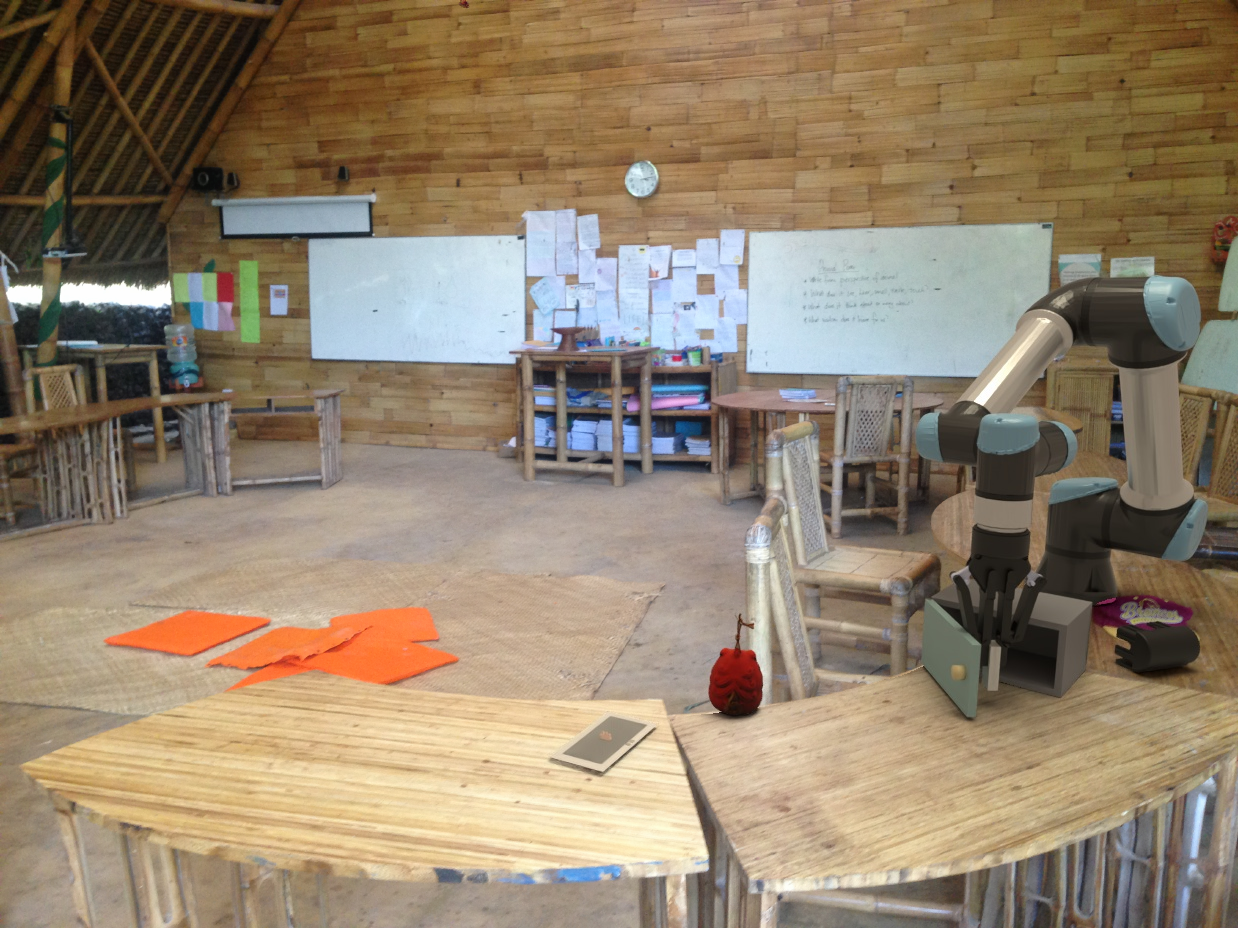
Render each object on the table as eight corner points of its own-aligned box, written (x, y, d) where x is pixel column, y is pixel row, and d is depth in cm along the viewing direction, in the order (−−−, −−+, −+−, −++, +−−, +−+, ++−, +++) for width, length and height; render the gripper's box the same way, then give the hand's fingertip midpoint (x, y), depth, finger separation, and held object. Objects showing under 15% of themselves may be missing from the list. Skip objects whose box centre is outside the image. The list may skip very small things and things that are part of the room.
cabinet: (958, 639, 159) (963, 577, 157) (1086, 669, 146) (1092, 601, 144) (926, 663, 148) (930, 596, 146) (1060, 697, 135) (1067, 625, 133)
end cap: (1147, 680, 142) (1152, 637, 141) (1110, 663, 149) (1115, 622, 148) (1198, 672, 145) (1203, 631, 144) (1160, 656, 152) (1164, 616, 151)
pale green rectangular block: (927, 660, 148) (931, 597, 146) (975, 717, 128) (981, 644, 126) (910, 660, 148) (914, 597, 146) (956, 716, 128) (962, 644, 126)
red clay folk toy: (761, 700, 134) (765, 600, 132) (763, 721, 127) (766, 616, 125) (708, 697, 135) (711, 597, 132) (707, 718, 128) (709, 614, 126)
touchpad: (548, 764, 116) (548, 748, 116) (607, 718, 129) (607, 703, 129) (603, 779, 112) (603, 763, 112) (658, 730, 125) (658, 715, 125)
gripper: (1039, 520, 132) (1026, 677, 136) (946, 518, 133) (936, 675, 137) (1060, 533, 125) (1046, 699, 129) (961, 531, 126) (950, 696, 130)
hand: (989, 686), depth 133 cm, fingers closed
